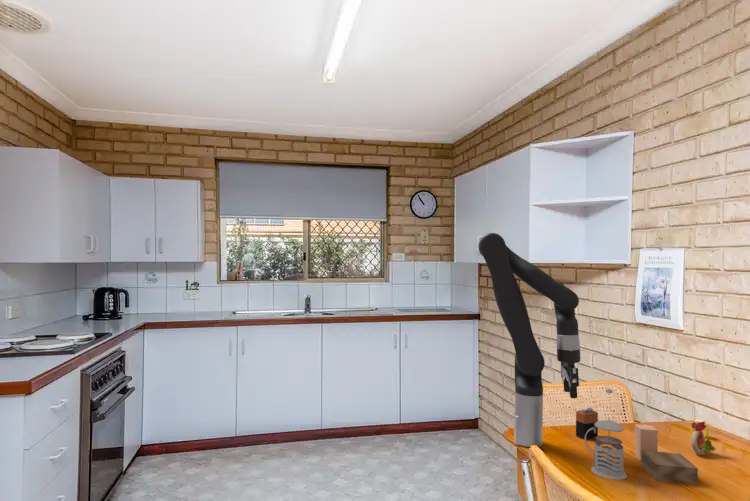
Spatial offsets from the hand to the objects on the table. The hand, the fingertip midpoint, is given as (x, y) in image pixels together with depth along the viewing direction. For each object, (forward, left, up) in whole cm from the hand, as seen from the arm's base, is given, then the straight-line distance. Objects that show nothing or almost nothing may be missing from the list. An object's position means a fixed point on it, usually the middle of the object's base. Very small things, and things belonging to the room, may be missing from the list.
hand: (570, 394), depth 164 cm
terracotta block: (+22, -5, -18) cm, 29 cm away
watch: (+50, +23, -18) cm, 58 cm away
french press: (+6, -19, -18) cm, 27 cm away
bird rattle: (+42, +4, -18) cm, 46 cm away
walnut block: (+24, -17, -18) cm, 35 cm away
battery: (+8, +12, -18) cm, 23 cm away
